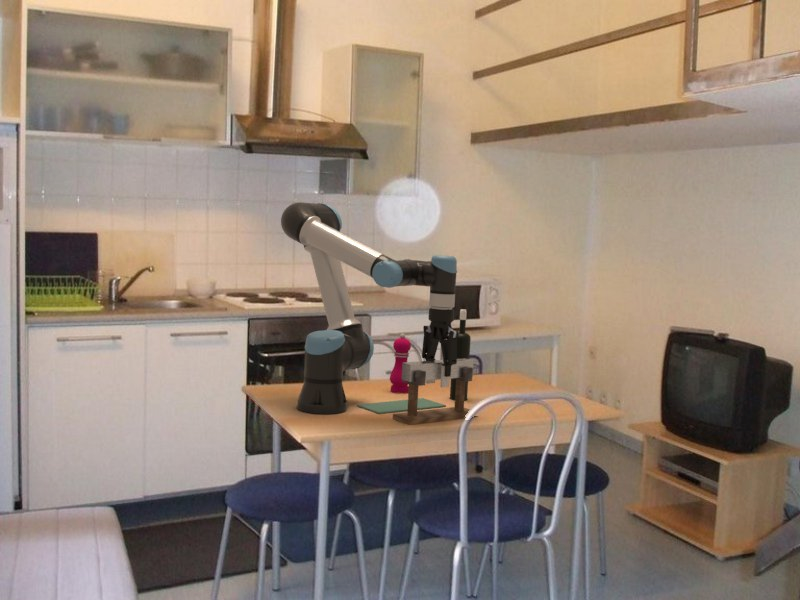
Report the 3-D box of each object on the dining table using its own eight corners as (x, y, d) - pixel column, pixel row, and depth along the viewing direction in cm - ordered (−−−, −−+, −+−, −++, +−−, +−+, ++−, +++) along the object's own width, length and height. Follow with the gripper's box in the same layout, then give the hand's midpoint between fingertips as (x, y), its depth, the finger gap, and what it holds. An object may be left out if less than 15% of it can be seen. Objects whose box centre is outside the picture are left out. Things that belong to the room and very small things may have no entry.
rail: (409, 381, 252) (410, 364, 252) (401, 379, 255) (402, 362, 255) (472, 376, 266) (473, 360, 266) (464, 374, 270) (465, 358, 269)
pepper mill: (401, 394, 295) (404, 335, 293) (384, 391, 299) (387, 332, 297) (414, 391, 301) (417, 333, 299) (397, 388, 305) (400, 331, 303)
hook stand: (409, 424, 251) (411, 373, 250) (392, 419, 257) (395, 368, 256) (477, 416, 267) (480, 367, 265) (460, 411, 273) (462, 363, 272)
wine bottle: (455, 396, 296) (460, 308, 293) (470, 399, 293) (475, 309, 290) (446, 398, 291) (451, 308, 289) (461, 401, 288) (466, 310, 285)
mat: (378, 414, 263) (379, 412, 263) (356, 406, 273) (356, 404, 273) (445, 406, 279) (446, 405, 278) (422, 399, 288) (422, 398, 288)
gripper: (472, 311, 254) (468, 390, 256) (431, 304, 269) (427, 378, 271) (452, 311, 249) (448, 391, 251) (412, 304, 264) (408, 380, 266)
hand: (437, 384), depth 261 cm, fingers open, 6 cm apart
